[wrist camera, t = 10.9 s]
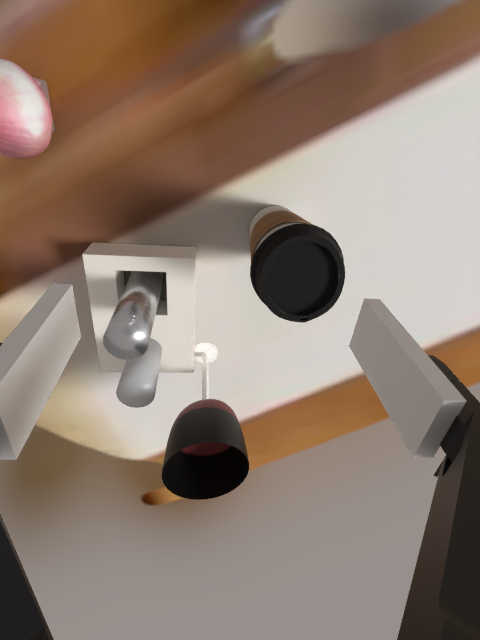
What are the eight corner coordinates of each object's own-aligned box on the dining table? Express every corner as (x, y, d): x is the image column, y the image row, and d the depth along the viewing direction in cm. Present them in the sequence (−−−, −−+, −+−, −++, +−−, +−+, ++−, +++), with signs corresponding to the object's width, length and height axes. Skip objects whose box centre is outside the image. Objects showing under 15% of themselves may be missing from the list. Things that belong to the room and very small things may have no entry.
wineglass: (164, 354, 51) (143, 478, 33) (205, 316, 48) (205, 428, 31) (205, 383, 54) (205, 509, 37) (245, 348, 51) (266, 466, 34)
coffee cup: (241, 267, 44) (257, 330, 32) (235, 198, 40) (249, 239, 27) (307, 259, 45) (349, 319, 32) (308, 189, 40) (356, 226, 27)
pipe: (129, 263, 43) (100, 322, 31) (162, 265, 43) (147, 323, 31) (131, 293, 45) (105, 359, 33) (163, 294, 45) (149, 360, 33)
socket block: (92, 242, 41) (55, 285, 31) (195, 247, 43) (193, 290, 32) (107, 353, 49) (82, 417, 39) (194, 354, 51) (191, 416, 40)
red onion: (-24, 117, 35) (-95, 87, 28) (25, 56, 34) (-37, 8, 27) (36, 181, 36) (-18, 167, 29) (86, 124, 35) (42, 95, 28)
